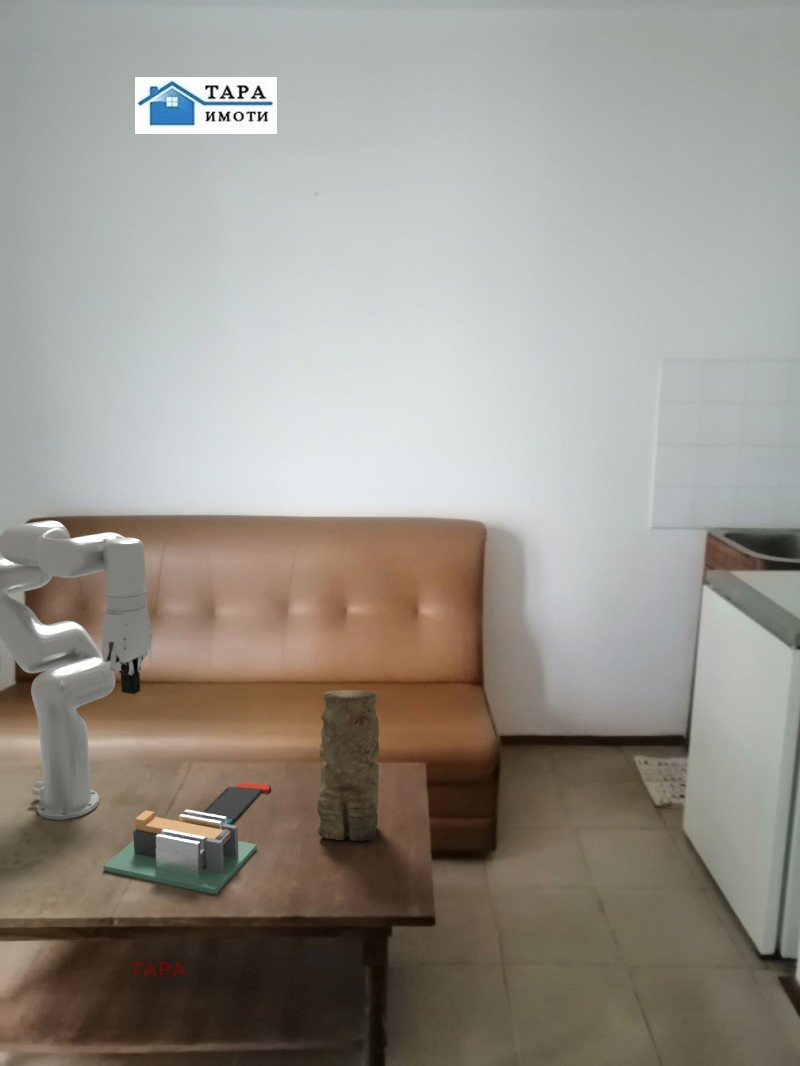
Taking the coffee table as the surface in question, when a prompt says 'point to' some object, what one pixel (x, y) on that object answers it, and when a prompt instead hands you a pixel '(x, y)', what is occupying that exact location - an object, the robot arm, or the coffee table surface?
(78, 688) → the robot arm
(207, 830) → the tan long bar
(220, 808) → the gaming console
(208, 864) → the board
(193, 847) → the heat sink
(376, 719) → the sculpture
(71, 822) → the coffee table surface
